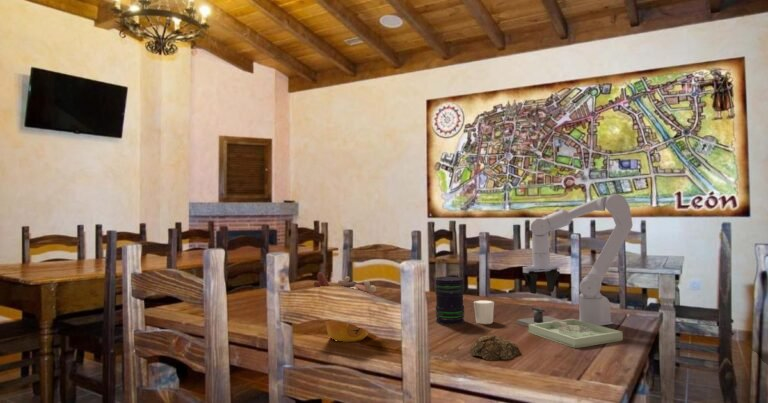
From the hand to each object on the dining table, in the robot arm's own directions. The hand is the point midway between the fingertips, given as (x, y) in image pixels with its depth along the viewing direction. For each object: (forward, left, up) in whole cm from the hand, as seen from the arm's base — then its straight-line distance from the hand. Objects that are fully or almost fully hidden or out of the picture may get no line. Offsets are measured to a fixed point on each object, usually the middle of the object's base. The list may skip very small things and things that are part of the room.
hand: (541, 292), depth 165 cm
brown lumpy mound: (+39, +25, -10) cm, 47 cm away
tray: (+7, +22, -9) cm, 24 cm away
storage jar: (+30, -12, -10) cm, 34 cm away
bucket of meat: (+69, -8, -10) cm, 70 cm away
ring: (+7, +20, -9) cm, 23 cm away
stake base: (+5, +6, -9) cm, 12 cm away
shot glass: (+20, -6, -10) cm, 23 cm away
